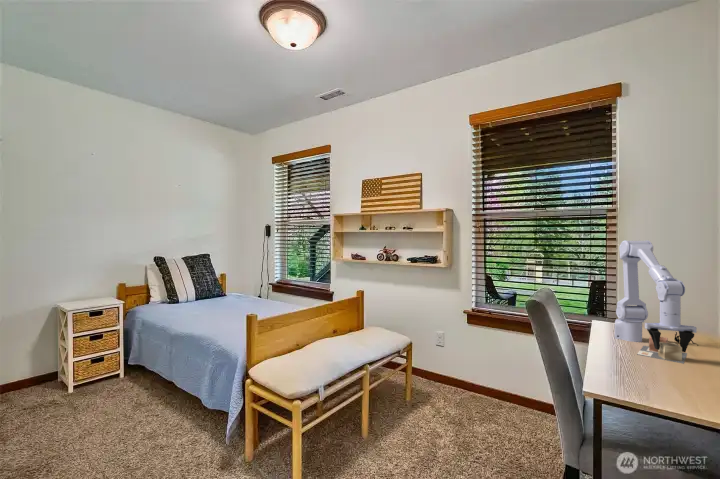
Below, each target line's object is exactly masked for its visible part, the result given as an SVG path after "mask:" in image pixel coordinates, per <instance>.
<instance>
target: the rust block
mask: <svg viewBox="0 0 720 479" xmlns="http://www.w3.org/2000/svg"><path fill="white" fill-rule="evenodd" d="M668 339H669V338H668V337H665V336H660V342H665V343H669V341H668ZM648 346H649V351H654V352H658V350H657V349H655V347H654V343H653V340H652V338H651V336H649V338H648Z"/></svg>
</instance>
